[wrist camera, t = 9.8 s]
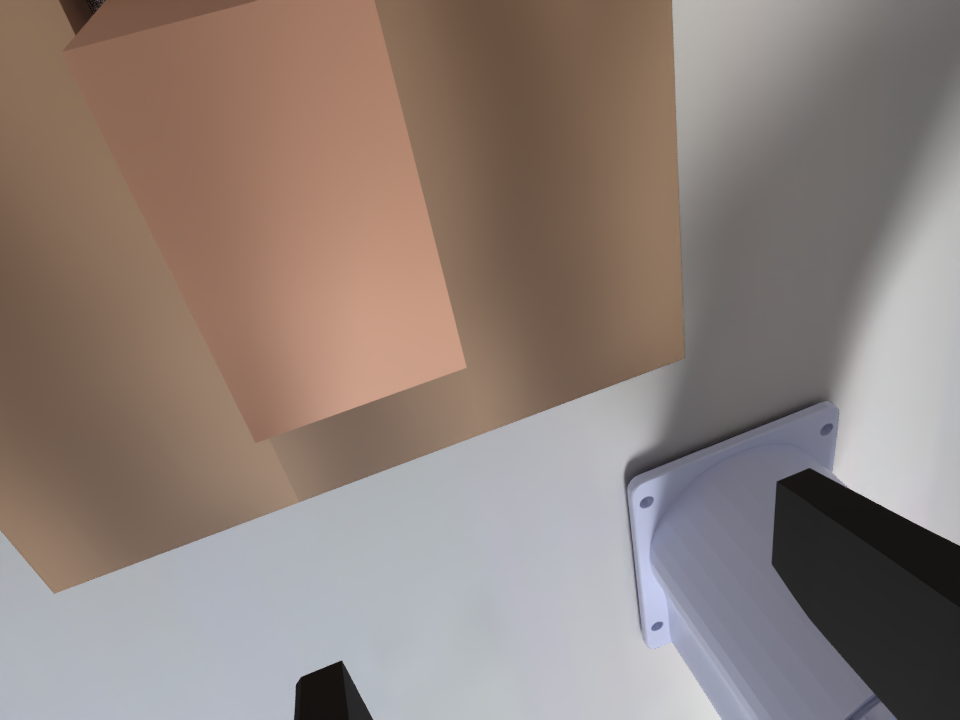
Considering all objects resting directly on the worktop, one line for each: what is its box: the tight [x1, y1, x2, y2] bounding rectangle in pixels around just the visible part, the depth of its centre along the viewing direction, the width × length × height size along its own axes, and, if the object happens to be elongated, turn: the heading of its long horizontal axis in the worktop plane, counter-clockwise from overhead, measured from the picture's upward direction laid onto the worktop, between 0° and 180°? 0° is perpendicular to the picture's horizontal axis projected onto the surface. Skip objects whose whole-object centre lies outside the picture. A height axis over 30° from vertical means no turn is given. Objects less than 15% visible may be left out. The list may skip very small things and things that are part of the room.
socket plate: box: [0, 0, 685, 594], centre depth 14 cm, size 16×16×2 cm
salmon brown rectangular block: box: [62, 0, 467, 443], centre depth 12 cm, size 3×5×8 cm, turn 11°
